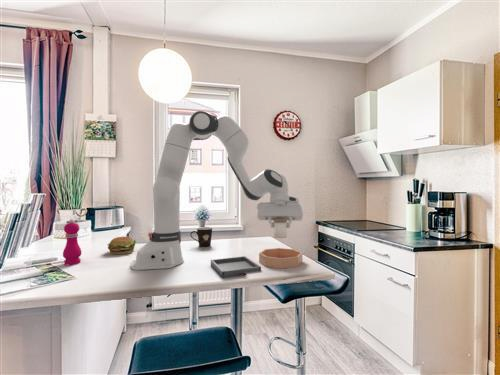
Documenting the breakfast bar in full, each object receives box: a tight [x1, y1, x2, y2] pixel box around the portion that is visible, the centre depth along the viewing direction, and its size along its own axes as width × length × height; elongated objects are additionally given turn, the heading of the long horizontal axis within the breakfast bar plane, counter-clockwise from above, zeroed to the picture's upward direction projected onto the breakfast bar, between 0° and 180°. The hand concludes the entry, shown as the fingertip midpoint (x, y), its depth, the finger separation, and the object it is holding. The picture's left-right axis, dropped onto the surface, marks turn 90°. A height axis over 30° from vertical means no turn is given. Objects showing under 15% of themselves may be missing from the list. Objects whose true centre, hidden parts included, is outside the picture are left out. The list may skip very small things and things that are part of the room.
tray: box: [210, 255, 262, 279], centre depth 122 cm, size 16×18×2 cm
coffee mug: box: [189, 226, 213, 248], centre depth 167 cm, size 12×9×10 cm
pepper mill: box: [62, 218, 82, 266], centre depth 133 cm, size 7×7×20 cm
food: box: [107, 236, 137, 255], centre depth 153 cm, size 14×14×8 cm
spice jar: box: [273, 218, 288, 239], centre depth 129 cm, size 6×6×8 cm
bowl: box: [258, 247, 303, 269], centre depth 129 cm, size 18×18×5 cm
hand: (280, 226), depth 128 cm, fingers closed on spice jar, 5 cm apart
